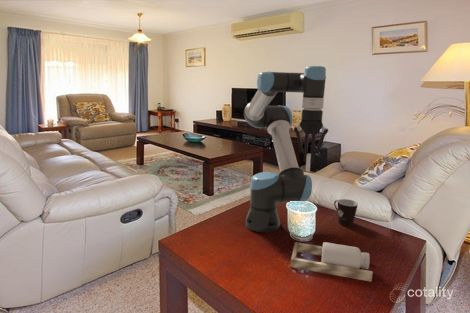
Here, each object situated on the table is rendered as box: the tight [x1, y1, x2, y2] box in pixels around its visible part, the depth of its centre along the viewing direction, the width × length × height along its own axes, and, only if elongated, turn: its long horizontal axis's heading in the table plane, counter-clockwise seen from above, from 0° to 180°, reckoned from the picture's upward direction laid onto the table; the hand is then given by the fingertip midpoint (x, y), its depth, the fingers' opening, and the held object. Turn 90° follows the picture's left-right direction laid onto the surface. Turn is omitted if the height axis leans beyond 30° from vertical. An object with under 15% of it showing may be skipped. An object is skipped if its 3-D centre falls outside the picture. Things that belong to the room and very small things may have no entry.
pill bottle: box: [320, 241, 371, 271], centre depth 106 cm, size 8×8×15 cm
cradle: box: [290, 241, 373, 283], centre depth 108 cm, size 26×12×3 cm, turn 73°
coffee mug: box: [333, 198, 359, 227], centre depth 142 cm, size 12×9×10 cm
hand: (307, 170), depth 121 cm, fingers closed
